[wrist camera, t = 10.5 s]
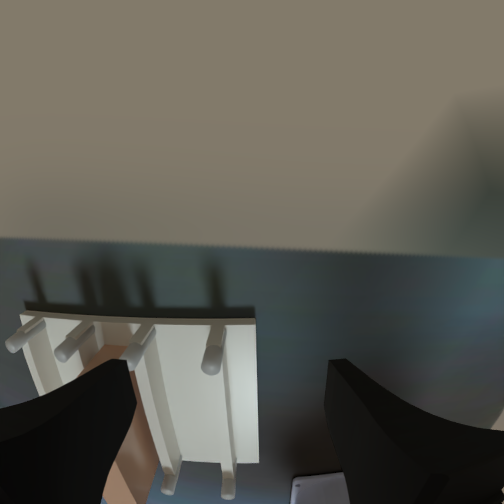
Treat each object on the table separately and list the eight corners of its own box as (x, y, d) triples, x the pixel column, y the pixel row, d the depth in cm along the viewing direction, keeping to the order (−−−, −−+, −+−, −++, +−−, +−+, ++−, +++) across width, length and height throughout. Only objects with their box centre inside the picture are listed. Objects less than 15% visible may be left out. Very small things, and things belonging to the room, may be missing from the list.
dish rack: (258, 454, 23) (259, 499, 18) (69, 433, 23) (48, 466, 18) (255, 317, 20) (255, 358, 15) (26, 310, 20) (-12, 335, 15)
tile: (162, 449, 21) (142, 513, 15) (134, 445, 21) (109, 506, 15) (137, 346, 19) (94, 411, 12) (104, 344, 19) (55, 403, 13)
